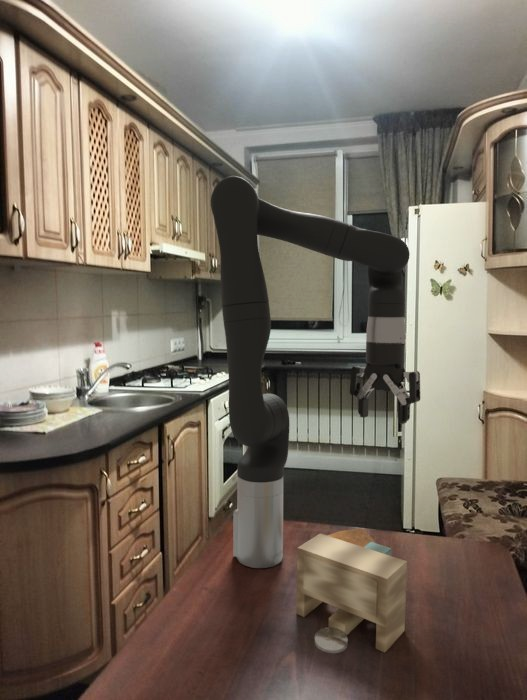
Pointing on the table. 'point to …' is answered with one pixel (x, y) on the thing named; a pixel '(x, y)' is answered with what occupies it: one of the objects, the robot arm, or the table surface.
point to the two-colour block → (346, 619)
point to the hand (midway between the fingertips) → (383, 419)
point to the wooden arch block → (353, 584)
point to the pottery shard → (354, 537)
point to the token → (331, 640)
